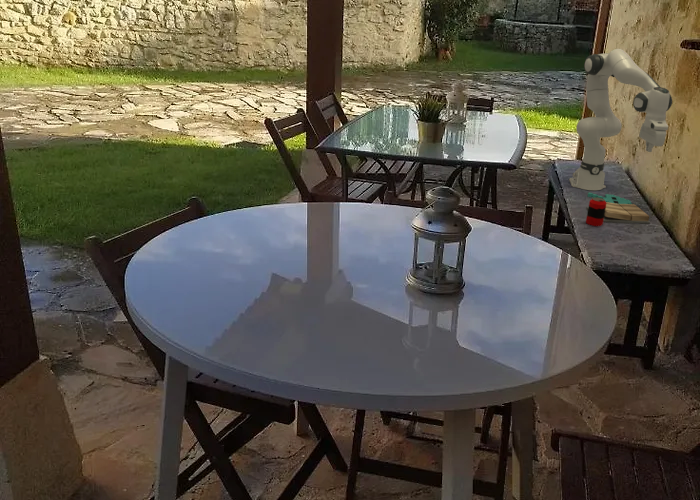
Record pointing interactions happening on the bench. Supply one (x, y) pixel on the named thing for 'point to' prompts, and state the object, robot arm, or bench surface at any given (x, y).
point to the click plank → (616, 211)
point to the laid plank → (635, 212)
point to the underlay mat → (621, 220)
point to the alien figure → (611, 198)
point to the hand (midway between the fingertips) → (648, 151)
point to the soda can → (596, 212)
